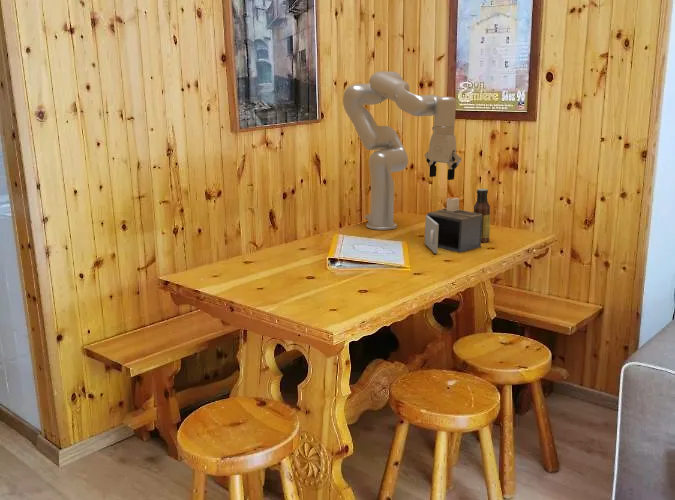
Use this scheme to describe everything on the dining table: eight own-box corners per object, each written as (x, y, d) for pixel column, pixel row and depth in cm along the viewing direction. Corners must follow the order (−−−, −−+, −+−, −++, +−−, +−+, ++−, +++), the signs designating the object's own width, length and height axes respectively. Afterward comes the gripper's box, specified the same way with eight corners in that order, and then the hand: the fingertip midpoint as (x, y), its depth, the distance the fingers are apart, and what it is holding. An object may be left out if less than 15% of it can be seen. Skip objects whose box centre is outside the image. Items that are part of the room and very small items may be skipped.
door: (421, 243, 265) (422, 215, 262) (426, 243, 265) (428, 215, 263) (431, 253, 251) (432, 224, 248) (437, 253, 251) (438, 223, 248)
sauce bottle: (488, 239, 275) (491, 188, 269) (490, 243, 269) (493, 191, 263) (471, 238, 275) (474, 187, 270) (472, 242, 269) (475, 190, 264)
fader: (446, 210, 265) (446, 197, 264) (452, 209, 268) (453, 196, 266) (452, 211, 263) (453, 198, 262) (458, 210, 266) (459, 197, 264)
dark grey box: (426, 244, 266) (427, 211, 263) (446, 239, 274) (448, 207, 271) (460, 252, 254) (462, 218, 251) (480, 247, 262) (482, 214, 259)
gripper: (419, 129, 266) (417, 176, 271) (456, 133, 254) (453, 182, 258) (432, 128, 271) (430, 174, 275) (469, 132, 258) (466, 180, 263)
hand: (441, 177), depth 267 cm, fingers open, 8 cm apart
